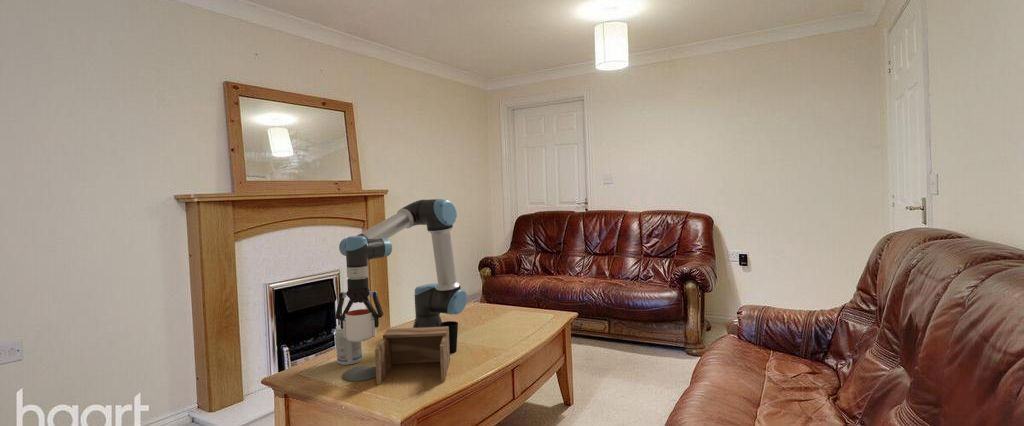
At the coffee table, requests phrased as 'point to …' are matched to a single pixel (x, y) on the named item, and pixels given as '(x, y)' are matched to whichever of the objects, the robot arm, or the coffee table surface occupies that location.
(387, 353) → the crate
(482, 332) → the coffee table surface
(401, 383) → the coffee table surface
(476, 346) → the coffee table surface
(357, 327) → the cup
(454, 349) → the cup
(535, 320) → the coffee table surface
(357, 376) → the coaster
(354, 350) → the supplement tub
